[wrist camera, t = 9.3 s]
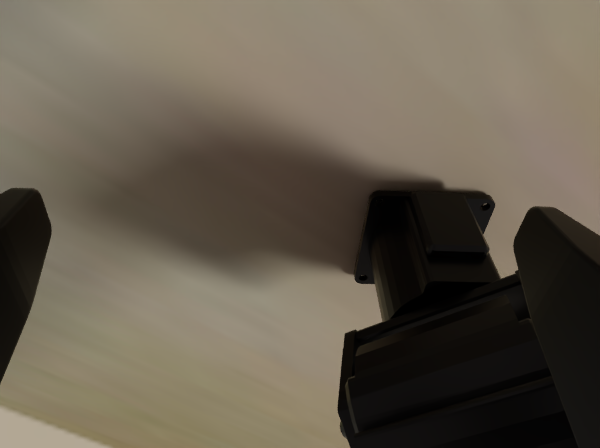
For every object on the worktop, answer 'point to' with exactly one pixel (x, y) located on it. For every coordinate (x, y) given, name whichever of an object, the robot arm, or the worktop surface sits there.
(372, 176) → the worktop surface
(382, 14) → the worktop surface
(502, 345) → the robot arm
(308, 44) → the worktop surface
